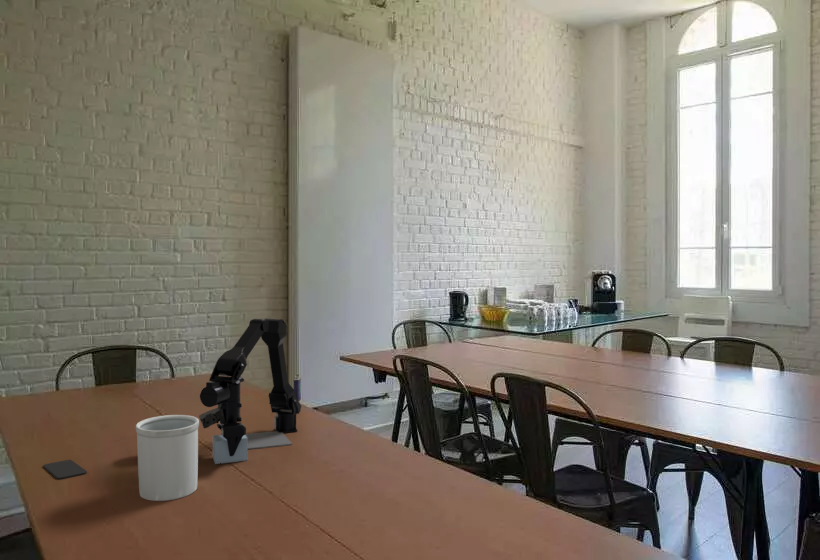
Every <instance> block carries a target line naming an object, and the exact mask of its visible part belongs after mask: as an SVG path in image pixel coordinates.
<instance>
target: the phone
mask: <svg viewBox="0 0 820 560" xmlns="http://www.w3.org/2000/svg"><path fill="white" fill-rule="evenodd" d="M42 467H43V468H44V469H45V470H46V471H47V472H48V473H49V474H51V476H53V477H54V478H55V479H56V480H59V481H60V480H61V481H62V480H66V479H71V478H75V477H80V476H85V475H87V474H88V471H87V470H86V469H85V468H83V467H82V466H80V465H79V464H77V462H75V461H74V460H72V459H65V460H59V461H55V462H50V463H45V464H43V466H42Z"/></svg>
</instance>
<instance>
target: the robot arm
mask: <svg viewBox="0 0 820 560" xmlns="http://www.w3.org/2000/svg"><path fill="white" fill-rule="evenodd" d="M287 325H288V324H287V322H286V321H285V320H284V319H282V318H252V319H250V321H249V323H248V326H247V328H246V329H245V330H244V332H243V333H242V335H241V336H240V337H239V339H238V340H237V341H236V342H235V344H234V346H233V347H232V348H230V349H229V350H226V351H224V352H223V353H222V355H220V357H218V358H217V361H216V363H215V365H214V367H213V371H212V372H211V375H210V377H209V381H207V382H206V383H205V387H203V388H201V391H200V394H199V399H200V402H201V404H203V406H205V407H207V408H212V407H215V406H217V407H216V408H213V409H211V410H208V411H205V412H203V413H201V414H199V416H198V419H199V421H200V422H201V425H202V428H203V429H209V427H210V426H212V425H215V424H216V426H217V428H218V429H219V430H220V431H221V435H222V436H223V437H224V438H225V439H227V444H228V450H229V455H230V456H234V454H235V452H236V450H237V447H238V445H239V443H240V441H241V439H242V437H243V436H244V435H246V434H247V427H246V425H244V424H243V423H242V417H241V408H242V407H243V406H242V402H241V383H243V382H245V379H244V378H243V377H242V375H243V374H244V371H245V369H246V368H247V365H248V362H247V359H248V356H249V355H250V354H251V352H252V350H253V349H254V347H255V346H256V345H257V343H259V340H260V339H261V340H262V341H263V342H264V343H265V345H266V346H267V351H268V357H269V365H270V370H271V371H270V372H271V377H272V385H273V387H272V389H271V391H270V392H269V393H268V400H269V405H270V409H271V413H273V414H275V416H274V430H275V431H278V432H279V433H280V432H283V434H285V433H294V432H298V428H297V415H299V414H300V413H301V410H302V405H301V403H300V401H298V400H297V398H296V395H295V391H294V387H292V386H291V384H290V382H289V379H288V378H289V377H288V370H287V363H286V362H287V361H286V356H285V350H284V349H285V348H284V342H285V340H286V337H287V336H288V335H287V334H288V333H287V329H288V326H287Z"/></svg>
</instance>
